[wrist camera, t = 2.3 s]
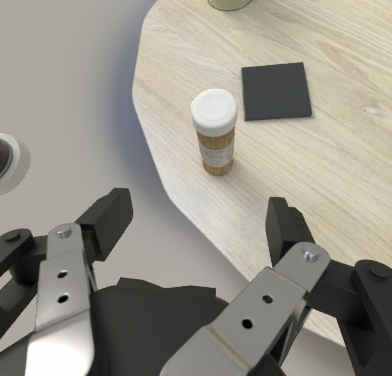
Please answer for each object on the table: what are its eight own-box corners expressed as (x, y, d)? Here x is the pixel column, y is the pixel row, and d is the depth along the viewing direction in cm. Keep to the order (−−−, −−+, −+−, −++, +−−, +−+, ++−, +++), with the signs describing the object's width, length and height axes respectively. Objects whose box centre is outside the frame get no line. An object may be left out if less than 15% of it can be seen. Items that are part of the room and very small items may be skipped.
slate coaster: (244, 120, 36) (244, 118, 35) (241, 70, 39) (241, 67, 38) (310, 116, 35) (312, 114, 34) (302, 64, 38) (303, 61, 37)
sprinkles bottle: (214, 143, 35) (208, 79, 23) (238, 158, 34) (247, 99, 21) (196, 166, 34) (180, 112, 22) (221, 182, 33) (219, 135, 21)
